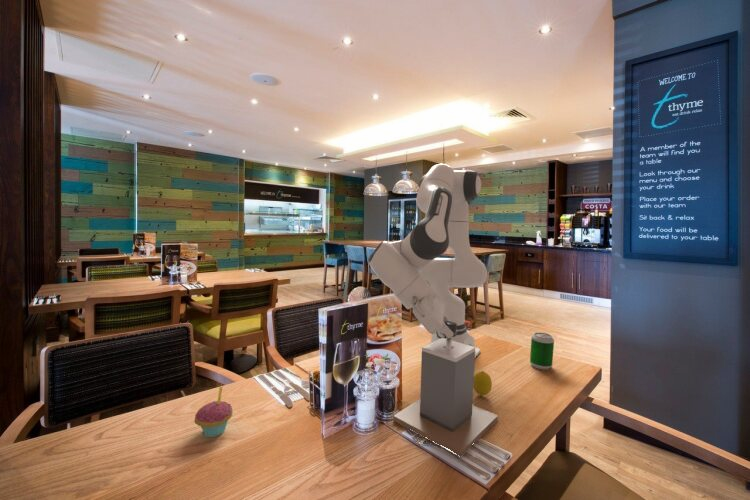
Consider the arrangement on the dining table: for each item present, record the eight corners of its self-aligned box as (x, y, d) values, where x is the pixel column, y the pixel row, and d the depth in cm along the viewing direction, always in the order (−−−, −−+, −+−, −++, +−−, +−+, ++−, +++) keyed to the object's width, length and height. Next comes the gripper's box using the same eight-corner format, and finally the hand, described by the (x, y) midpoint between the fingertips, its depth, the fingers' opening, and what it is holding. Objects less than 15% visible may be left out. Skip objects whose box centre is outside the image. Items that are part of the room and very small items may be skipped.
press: (434, 393, 106) (437, 329, 104) (497, 420, 92) (501, 347, 90) (393, 421, 91) (395, 346, 89) (460, 457, 78) (464, 371, 76)
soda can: (556, 371, 123) (558, 339, 122) (535, 370, 123) (537, 338, 122) (545, 362, 131) (548, 331, 129) (526, 361, 131) (528, 331, 130)
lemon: (492, 402, 102) (493, 376, 101) (472, 399, 103) (474, 374, 102) (489, 392, 107) (491, 368, 106) (471, 390, 108) (472, 366, 107)
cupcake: (225, 417, 91) (224, 374, 90) (238, 432, 85) (237, 386, 84) (190, 431, 85) (188, 385, 84) (202, 447, 79) (200, 398, 78)
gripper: (420, 294, 80) (461, 338, 78) (427, 279, 99) (460, 314, 98) (400, 311, 81) (441, 355, 80) (411, 293, 101) (444, 328, 100)
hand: (451, 332), depth 89 cm, fingers closed on plunger, 4 cm apart
